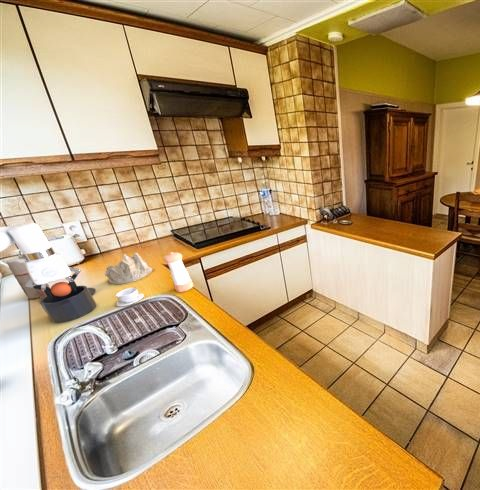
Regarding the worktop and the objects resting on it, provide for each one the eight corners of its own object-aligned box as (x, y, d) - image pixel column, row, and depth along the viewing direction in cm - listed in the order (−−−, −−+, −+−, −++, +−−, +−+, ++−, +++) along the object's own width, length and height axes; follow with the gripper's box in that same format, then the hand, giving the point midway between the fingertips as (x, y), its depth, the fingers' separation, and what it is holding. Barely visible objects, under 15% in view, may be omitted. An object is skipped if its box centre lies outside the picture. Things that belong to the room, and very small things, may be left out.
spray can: (34, 293, 132) (11, 257, 124) (56, 288, 135) (35, 253, 127) (23, 301, 125) (-3, 264, 117) (47, 296, 128) (23, 260, 120)
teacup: (145, 300, 120) (141, 291, 119) (116, 310, 115) (111, 301, 113) (143, 291, 128) (139, 283, 126) (116, 300, 122) (112, 292, 120)
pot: (51, 330, 104) (38, 311, 100) (53, 311, 116) (41, 293, 113) (97, 313, 113) (87, 295, 109) (95, 297, 125) (85, 280, 121)
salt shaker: (189, 282, 134) (176, 248, 126) (196, 286, 130) (183, 251, 122) (173, 289, 128) (158, 253, 121) (180, 293, 124) (165, 257, 117)
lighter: (38, 299, 126) (26, 281, 122) (48, 295, 129) (36, 278, 125) (49, 302, 124) (37, 283, 120) (58, 298, 127) (47, 280, 123)
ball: (54, 301, 107) (46, 288, 105) (55, 295, 111) (47, 283, 109) (75, 294, 111) (67, 282, 109) (75, 289, 115) (68, 277, 112)
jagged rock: (157, 268, 150) (144, 244, 143) (131, 285, 135) (116, 259, 128) (134, 270, 152) (120, 246, 145) (105, 286, 137) (89, 261, 131)
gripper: (3, 265, 95) (31, 306, 103) (71, 249, 107) (92, 287, 114) (6, 259, 100) (33, 299, 107) (71, 244, 111) (91, 281, 119)
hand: (63, 292), depth 111 cm, fingers closed on ball, 5 cm apart
